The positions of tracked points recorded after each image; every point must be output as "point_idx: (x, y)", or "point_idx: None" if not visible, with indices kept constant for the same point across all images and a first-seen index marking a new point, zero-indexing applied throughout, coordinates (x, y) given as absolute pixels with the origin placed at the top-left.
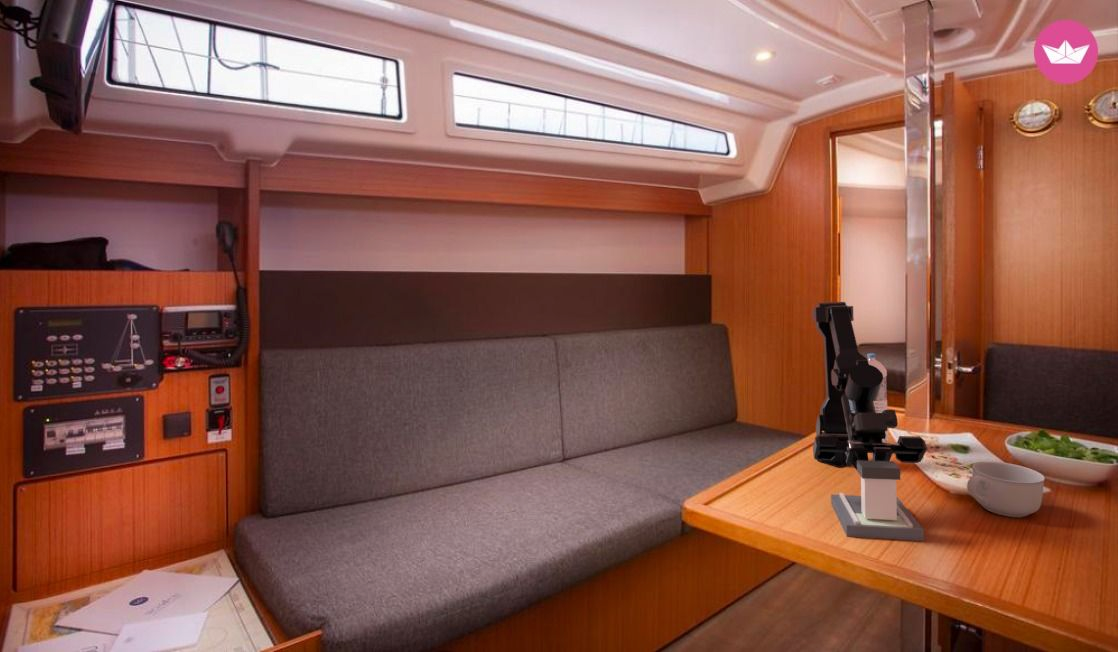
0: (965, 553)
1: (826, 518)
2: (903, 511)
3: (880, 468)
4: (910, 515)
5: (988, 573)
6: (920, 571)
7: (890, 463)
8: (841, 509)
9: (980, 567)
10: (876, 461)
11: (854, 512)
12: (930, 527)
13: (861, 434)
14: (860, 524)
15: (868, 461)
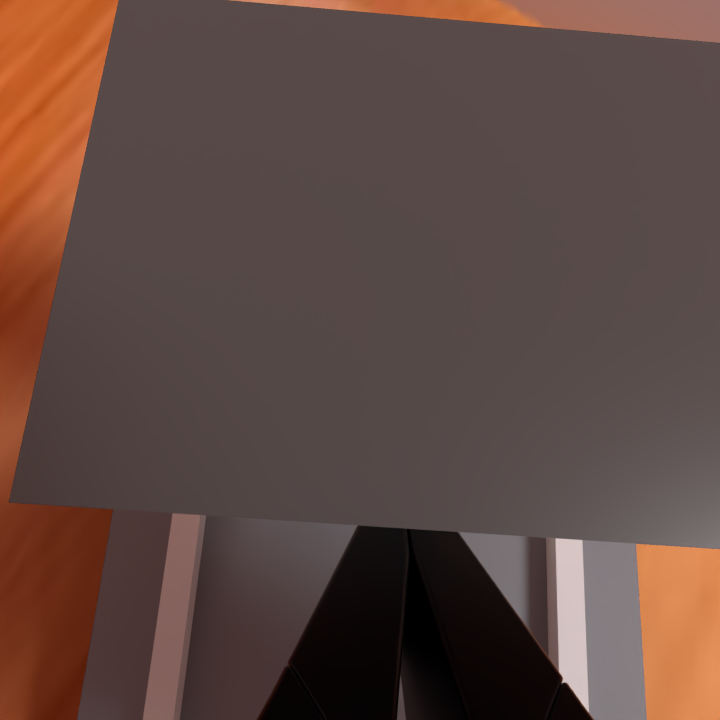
0: (31, 175)
1: (679, 614)
2: (141, 602)
3: (497, 32)
4: (124, 520)
5: (50, 3)
6: (336, 3)
7: (170, 319)
8: (617, 606)
9: (50, 49)
10: (463, 486)
11: (529, 544)
12: (27, 513)
13: None
14: None
15: (668, 472)
